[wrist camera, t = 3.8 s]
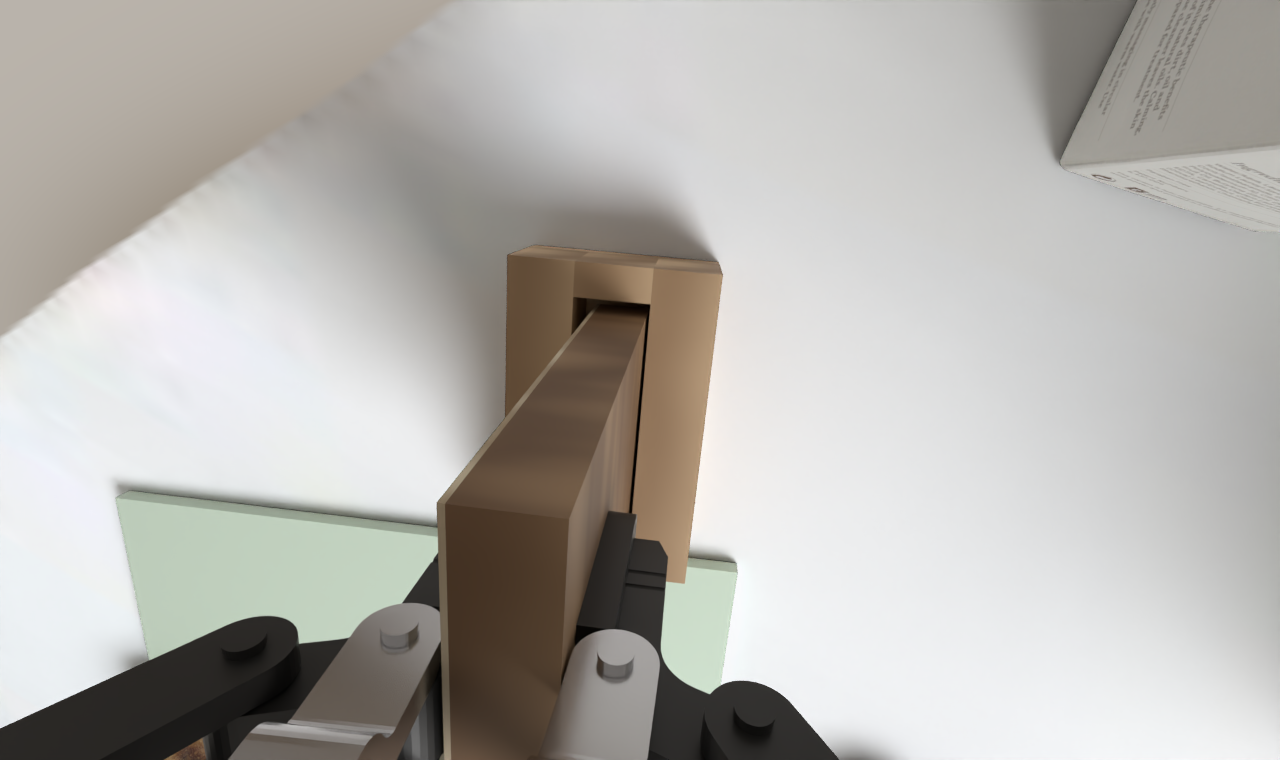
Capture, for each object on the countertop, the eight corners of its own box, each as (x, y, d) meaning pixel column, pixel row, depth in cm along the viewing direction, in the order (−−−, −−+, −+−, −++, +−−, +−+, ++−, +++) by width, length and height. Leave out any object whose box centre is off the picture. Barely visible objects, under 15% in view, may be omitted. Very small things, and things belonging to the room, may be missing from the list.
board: (649, 308, 18) (569, 519, 7) (631, 510, 21) (548, 913, 9) (597, 303, 19) (436, 502, 7) (585, 504, 21) (447, 895, 10)
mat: (736, 563, 23) (737, 573, 22) (681, 922, 29) (681, 937, 28) (128, 490, 24) (115, 498, 24) (200, 849, 30) (191, 862, 30)
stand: (718, 261, 20) (723, 274, 17) (685, 533, 23) (684, 583, 20) (534, 245, 20) (507, 254, 17) (526, 515, 23) (503, 561, 20)
